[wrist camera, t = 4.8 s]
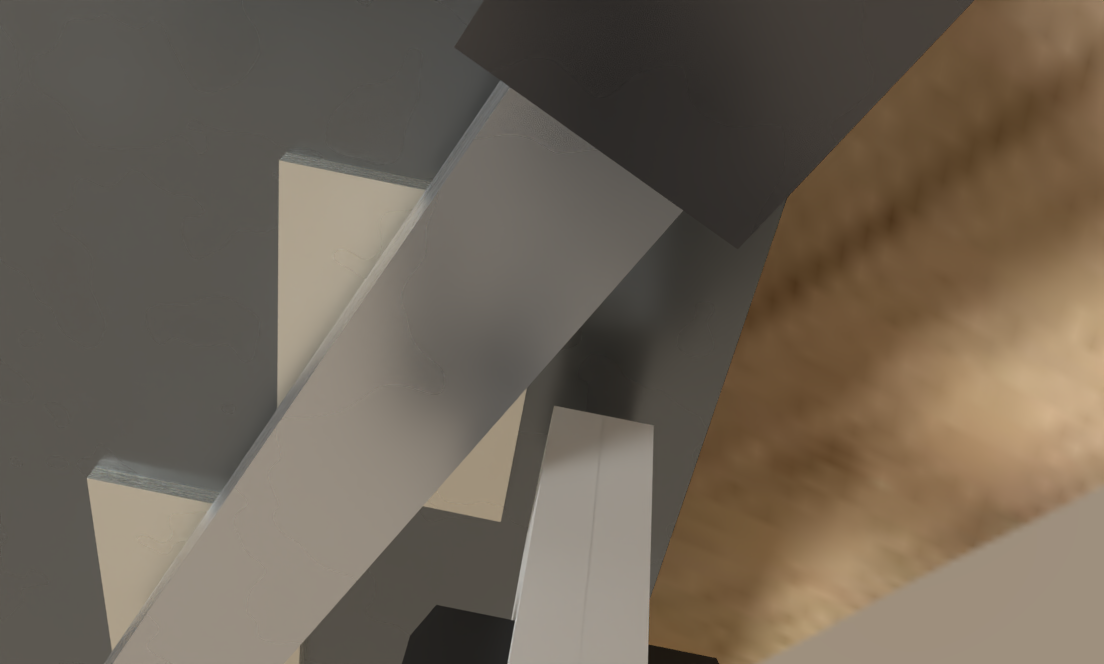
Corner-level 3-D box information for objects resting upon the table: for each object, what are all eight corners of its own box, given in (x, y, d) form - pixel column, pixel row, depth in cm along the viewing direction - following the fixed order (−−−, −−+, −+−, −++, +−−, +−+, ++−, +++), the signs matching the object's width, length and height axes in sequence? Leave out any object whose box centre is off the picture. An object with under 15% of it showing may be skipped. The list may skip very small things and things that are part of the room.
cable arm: (685, -308, 9) (689, -326, 6) (929, -94, 10) (1011, -40, 7) (67, 660, 18) (-21, 796, 16) (214, 729, 19) (150, 868, 17)
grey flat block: (-161, -455, 13) (-524, -540, 9) (869, -244, 13) (955, -235, 9) (33, 529, 24) (-94, 688, 20) (596, 644, 24) (581, 825, 20)
